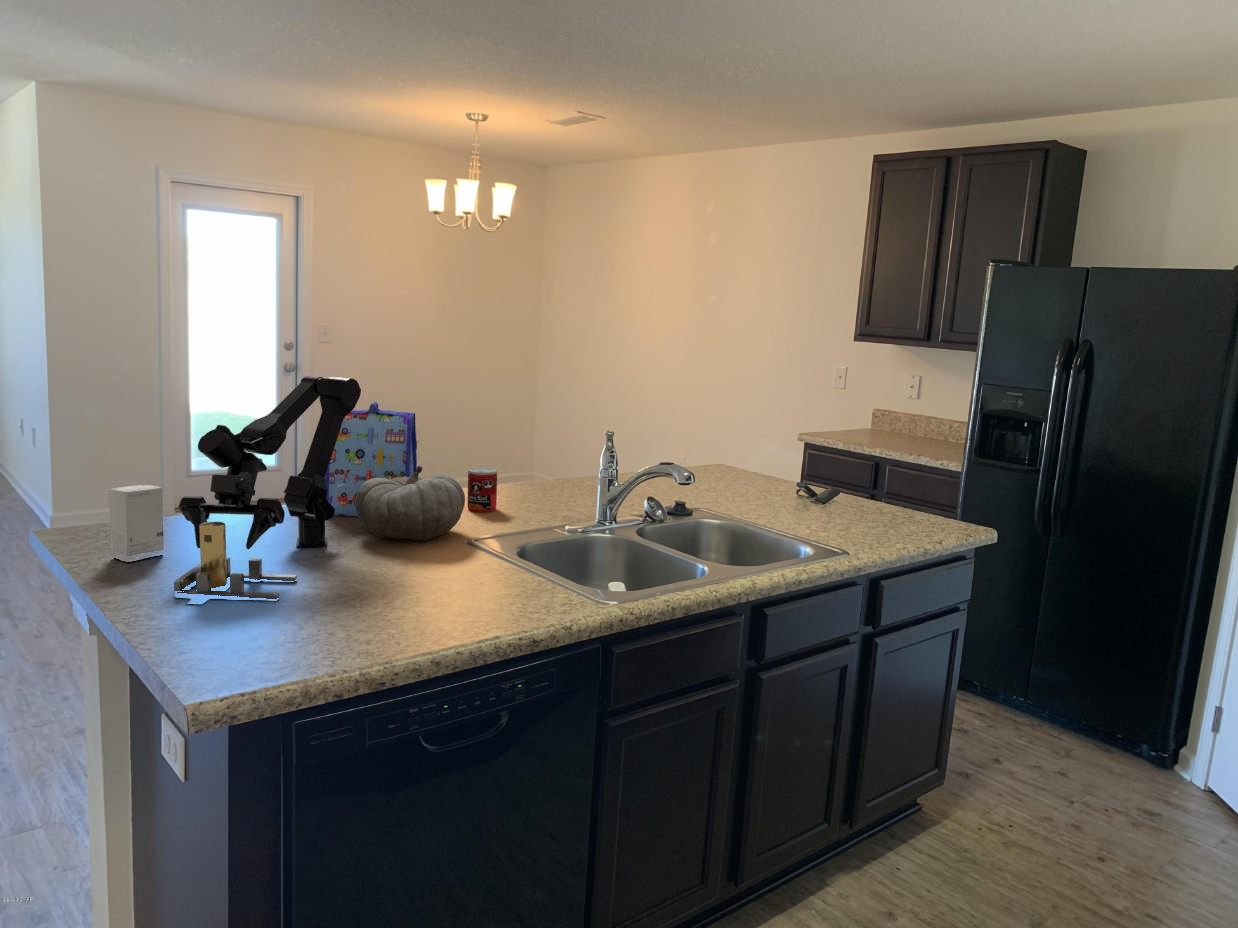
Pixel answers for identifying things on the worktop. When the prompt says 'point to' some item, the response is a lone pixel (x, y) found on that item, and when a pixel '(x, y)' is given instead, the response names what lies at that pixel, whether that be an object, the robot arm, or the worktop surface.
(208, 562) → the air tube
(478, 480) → the canned food
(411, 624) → the worktop surface
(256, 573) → the frame
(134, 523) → the skincare box
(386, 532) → the gourd
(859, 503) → the worktop surface
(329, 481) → the lunch bag
